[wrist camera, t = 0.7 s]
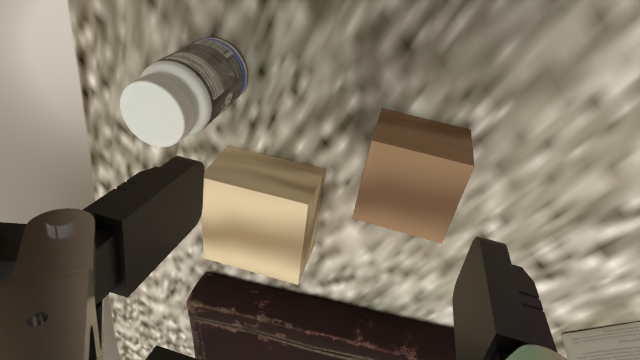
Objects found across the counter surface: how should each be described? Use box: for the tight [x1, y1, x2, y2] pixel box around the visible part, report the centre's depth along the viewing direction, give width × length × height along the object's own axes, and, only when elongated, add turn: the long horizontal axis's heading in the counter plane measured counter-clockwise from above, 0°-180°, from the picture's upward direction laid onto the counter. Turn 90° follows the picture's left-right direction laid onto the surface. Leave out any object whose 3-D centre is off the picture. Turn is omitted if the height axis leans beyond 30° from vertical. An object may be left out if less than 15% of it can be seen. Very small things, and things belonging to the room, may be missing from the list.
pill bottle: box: [120, 38, 247, 147], centre depth 27 cm, size 5×5×8 cm
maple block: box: [202, 146, 325, 285], centre depth 33 cm, size 8×8×5 cm
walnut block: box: [353, 109, 474, 243], centre depth 28 cm, size 6×6×5 cm
